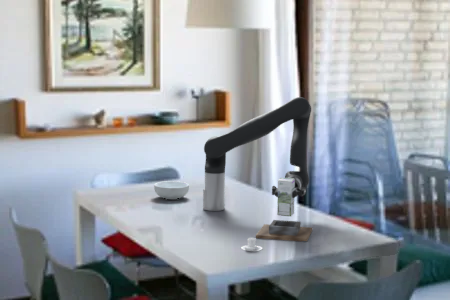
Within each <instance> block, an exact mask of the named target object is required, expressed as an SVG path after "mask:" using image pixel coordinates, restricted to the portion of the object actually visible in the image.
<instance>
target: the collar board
mask: <svg viewBox="0 0 450 300" xmlns="http://www.w3.org/2000/svg"><path fill="white" fill-rule="evenodd" d="M312 232H313V227H307V226H302V225H301V221H297V220H296V221H295V220H284V219H283V220H281V219H273V220H272V221H271V223H270V224H267V223H266V224H265V223H264V224H263V225H262V226H261V227H260V229H259V230H258V232H257V233H256V234H255V238H256V239H264V240H275V241H276V240H280V241H290V242H302V241H307V240H309V238H310V236H311V235H312ZM307 242H308V241H307Z"/></svg>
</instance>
